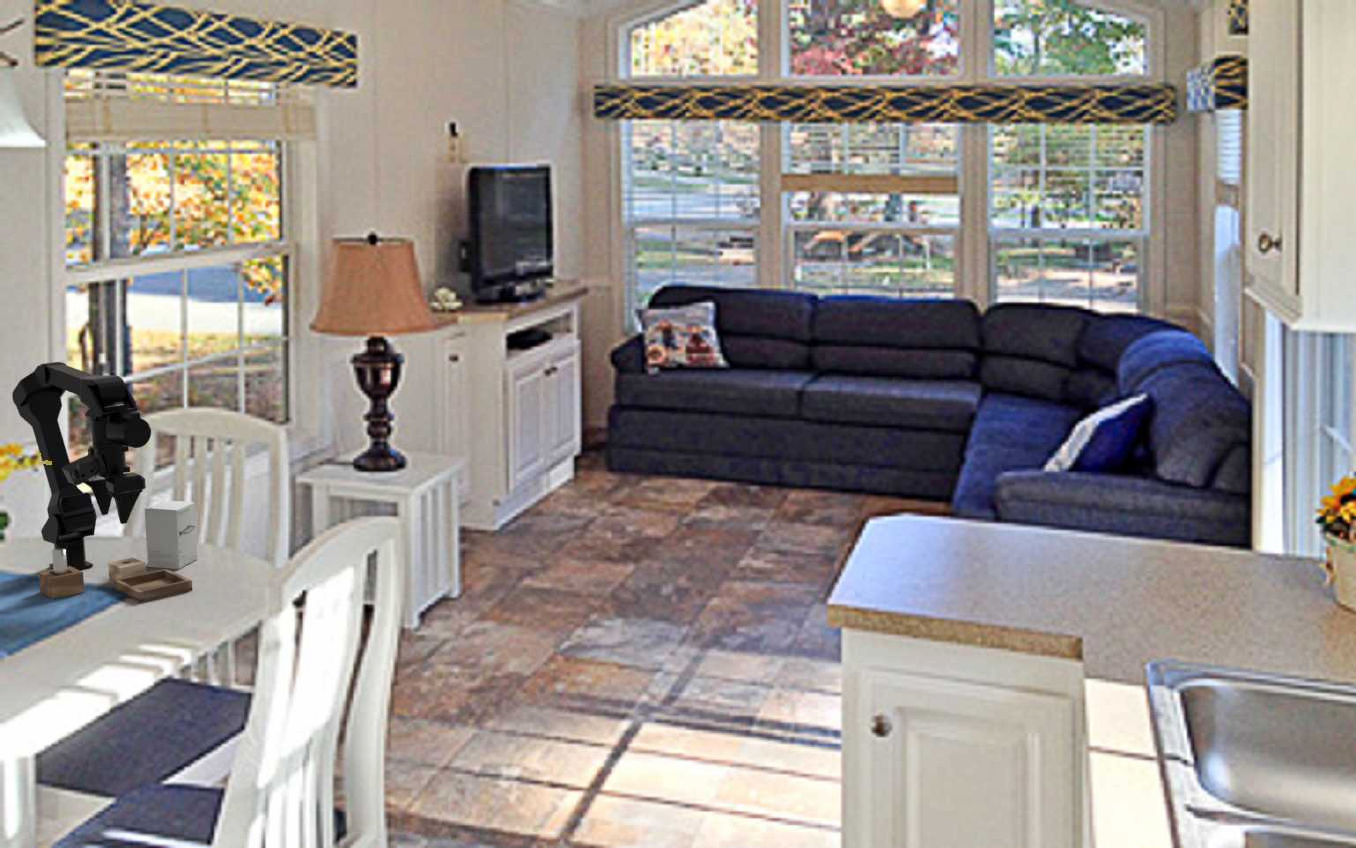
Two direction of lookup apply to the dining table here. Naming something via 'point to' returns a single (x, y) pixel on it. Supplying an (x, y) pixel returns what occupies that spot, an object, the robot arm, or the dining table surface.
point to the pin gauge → (59, 561)
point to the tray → (153, 585)
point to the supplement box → (171, 534)
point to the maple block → (125, 568)
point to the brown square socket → (61, 583)
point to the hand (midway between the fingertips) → (114, 519)
